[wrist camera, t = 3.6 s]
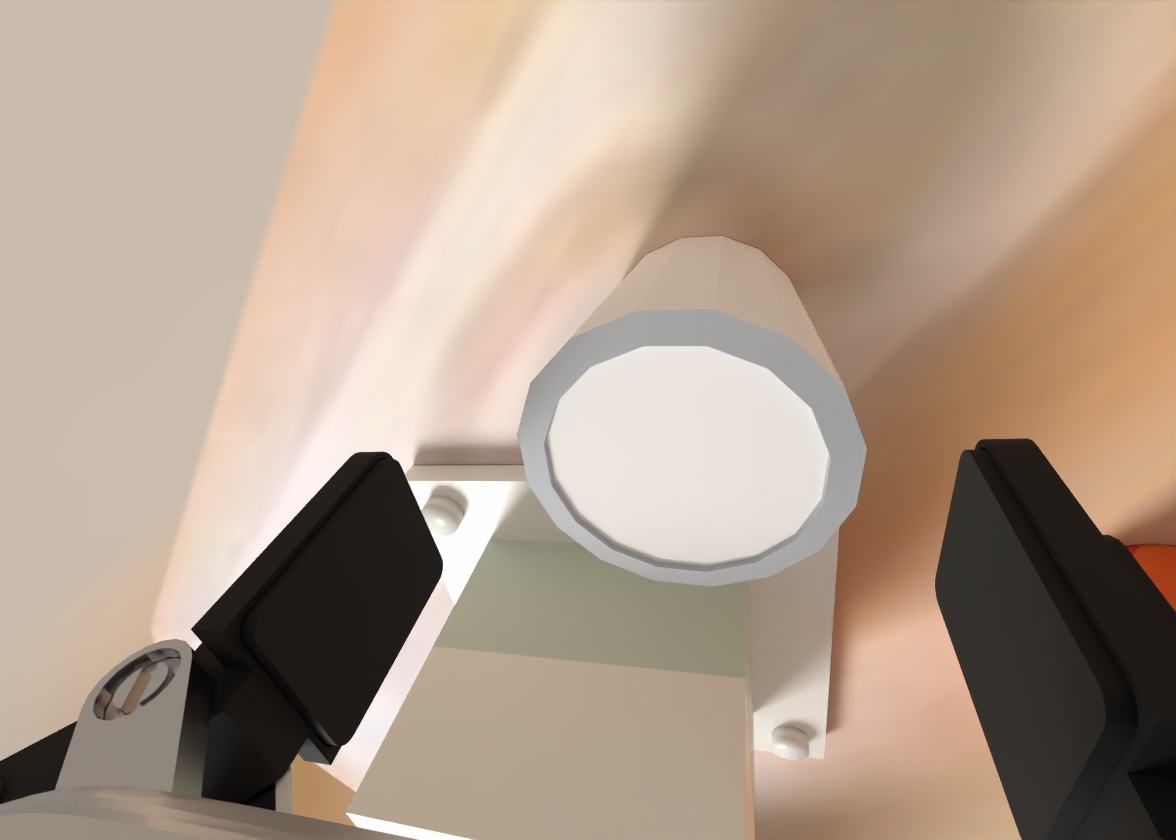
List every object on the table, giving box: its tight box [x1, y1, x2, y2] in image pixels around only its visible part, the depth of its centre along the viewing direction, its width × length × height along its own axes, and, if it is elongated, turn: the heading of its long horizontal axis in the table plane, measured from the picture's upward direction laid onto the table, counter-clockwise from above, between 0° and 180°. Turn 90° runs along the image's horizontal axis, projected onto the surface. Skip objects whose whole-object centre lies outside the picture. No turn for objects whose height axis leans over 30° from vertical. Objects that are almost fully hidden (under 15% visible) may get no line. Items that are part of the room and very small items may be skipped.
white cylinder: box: [517, 236, 867, 587], centre depth 14 cm, size 7×7×7 cm
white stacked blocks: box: [346, 465, 840, 840], centre depth 20 cm, size 16×16×11 cm
